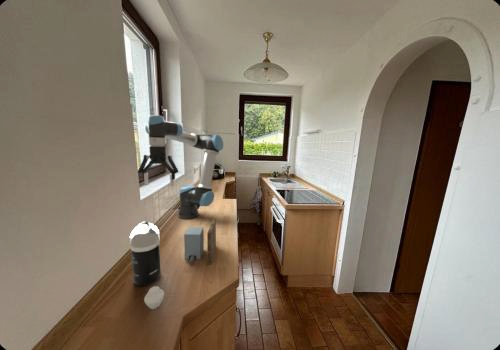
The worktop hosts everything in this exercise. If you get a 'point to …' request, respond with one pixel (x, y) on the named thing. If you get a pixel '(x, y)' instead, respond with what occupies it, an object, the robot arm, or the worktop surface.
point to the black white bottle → (145, 253)
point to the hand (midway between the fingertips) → (159, 185)
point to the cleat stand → (209, 243)
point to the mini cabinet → (194, 242)
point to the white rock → (154, 297)
